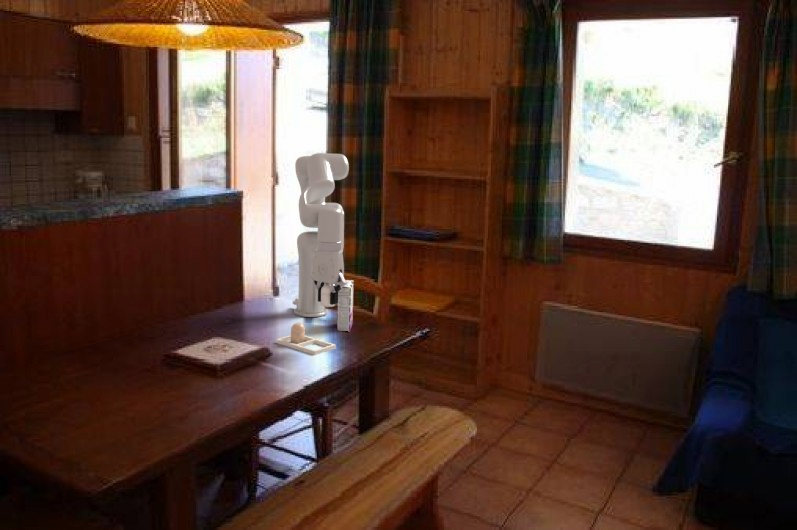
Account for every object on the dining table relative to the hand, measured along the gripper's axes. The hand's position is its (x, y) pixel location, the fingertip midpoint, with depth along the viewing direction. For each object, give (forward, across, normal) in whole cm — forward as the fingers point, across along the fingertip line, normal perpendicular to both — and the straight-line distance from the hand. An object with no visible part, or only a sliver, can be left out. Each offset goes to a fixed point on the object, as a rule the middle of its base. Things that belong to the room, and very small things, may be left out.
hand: (327, 301), depth 231 cm
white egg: (+1, 0, 0) cm, 1 cm away
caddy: (+16, -5, -4) cm, 17 cm away
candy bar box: (+16, -12, +22) cm, 30 cm away
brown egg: (+15, -9, -4) cm, 18 cm away
